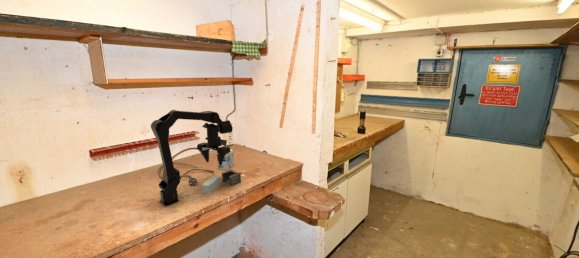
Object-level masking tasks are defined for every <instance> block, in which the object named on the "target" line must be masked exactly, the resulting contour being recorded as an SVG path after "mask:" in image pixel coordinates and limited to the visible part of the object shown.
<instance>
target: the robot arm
mask: <svg viewBox="0 0 579 258" xmlns="http://www.w3.org/2000/svg"><path fill="white" fill-rule="evenodd" d="M178 120H188V121H189V120H190V121H194V120H195V121H203V122H204V124H203V125H202V126H201V127H202V128H204V129H206V137H205V140H206V142H204V141H203V142H201V143H198V144H197V145H196V150H198V152H199V153H200V154H201V155H202V157H203V158H204V161H206V163H209V161H210V150H211V151H216V158H217V157H218V160H217V162H218V161H219V165H222V162H223V159H224V157H225V155H226V154H228V153H229V152H230V149H231V147H230V146H227V142H228V140H227V139H221V136H219V135H223V134H229V133H232V132H233V131H234V130H233V126H232V123H231V121H230V120H229V119H226V120H222V119H221V117H220V114H219V113H218V112H216V111H212V110H204V111H199V112H198V111H188V110H187V111H186V110H176V109H171V110H170V111H169V112H168V113H166V114H164V115H162V116H161V117H160V118H158V119H156V120H154V121H152V123H150V129H151V131H152V133H153V135H154V136H155V139H156V140H157V145H158V149H159V153H160V157H161V162H162V166H163V170H162V180H160V182H159V183H158V187H159V189H160V191H159V193H160V194H159V195H160V201H159V203H161V204H162V205H164V206H165V207H168V206H170V205H173V204H175V203H177V202H179V193H178V186H179V185H180V183H181V180H182V178H181V175H180V174H181V172H180V171H179V170H178V169H177V168H176V167H175V166H174V162H173V157H172V153H171V147H170V143H169V137H170V128H172V127H173V126H174V125H175V123H176V122H177V121H178ZM217 153H218V154H217Z"/></svg>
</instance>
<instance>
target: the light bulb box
mask: <svg viewBox="0 0 579 258" xmlns="http://www.w3.org/2000/svg"><path fill="white" fill-rule="evenodd" d="M217 154H218V153H217V152H216V155H217ZM216 158H217V170H219V171H220V170H222V171H229V170H231V168H232V167H233V166H234V165H235V161H234V159H235V157H234V149H231V148H230V152H229V153H228V154H226V155H225V157H224V159H223V162H222V165H219V161H218V157H217V156H216Z"/></svg>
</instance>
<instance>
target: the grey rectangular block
mask: <svg viewBox="0 0 579 258" xmlns="http://www.w3.org/2000/svg"><path fill="white" fill-rule="evenodd" d="M221 182H222V180H221V176H220V175H212V176H211V177H210V178H209V179H207V180H206V181H205V182H204V183H202V184H201V194H202V195H210V194H212V193H213V192H214V191H215V190H216V189H218V187H220V186H221V185H222V183H221Z"/></svg>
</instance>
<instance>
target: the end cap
mask: <svg viewBox="0 0 579 258" xmlns="http://www.w3.org/2000/svg"><path fill="white" fill-rule="evenodd" d="M241 180H242V179H241V173H240V172H237V171H235V170H233V169H228V170H225V171H224V172H221V182H222V183H224V184H225V183H227V182H229V187H233V186H236V185H238V184H241V183H242V181H241Z"/></svg>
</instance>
